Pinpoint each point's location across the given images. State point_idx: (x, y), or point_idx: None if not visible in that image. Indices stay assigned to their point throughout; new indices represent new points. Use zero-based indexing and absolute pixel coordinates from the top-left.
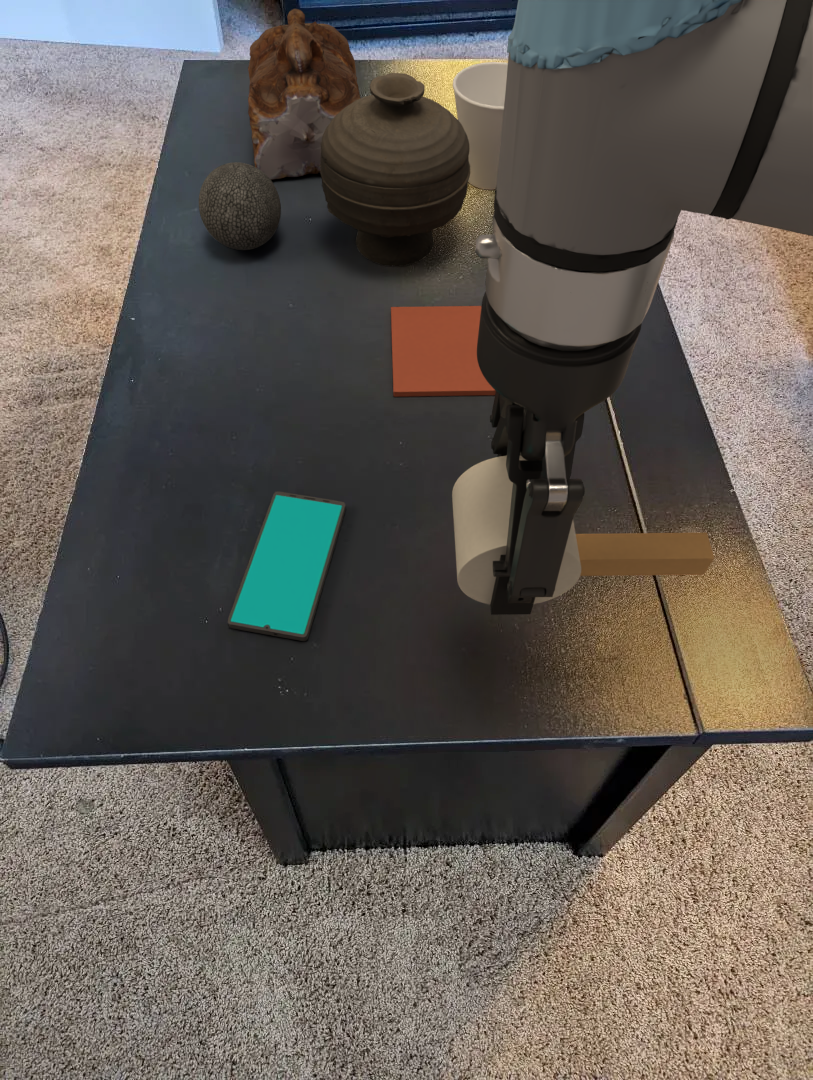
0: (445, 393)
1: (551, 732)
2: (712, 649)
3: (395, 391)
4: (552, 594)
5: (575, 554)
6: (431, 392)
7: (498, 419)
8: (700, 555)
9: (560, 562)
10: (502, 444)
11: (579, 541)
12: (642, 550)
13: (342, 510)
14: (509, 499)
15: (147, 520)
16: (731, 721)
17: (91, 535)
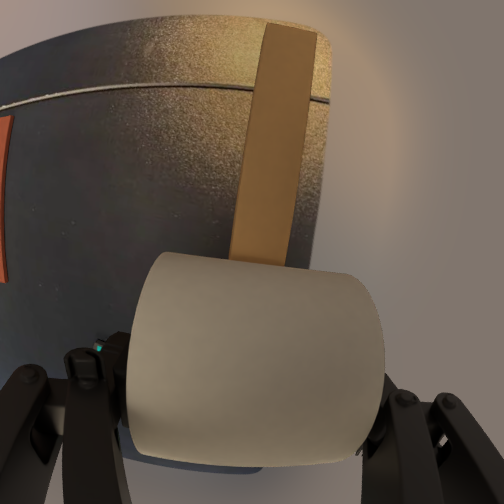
0: (2, 241)
1: (315, 216)
2: None
3: (4, 281)
4: (460, 402)
5: (375, 325)
6: (2, 253)
7: (57, 445)
8: (309, 46)
9: (498, 454)
10: (123, 468)
11: (250, 231)
12: (287, 126)
13: (101, 345)
14: (255, 459)
15: (123, 437)
16: (326, 77)
17: (137, 455)
